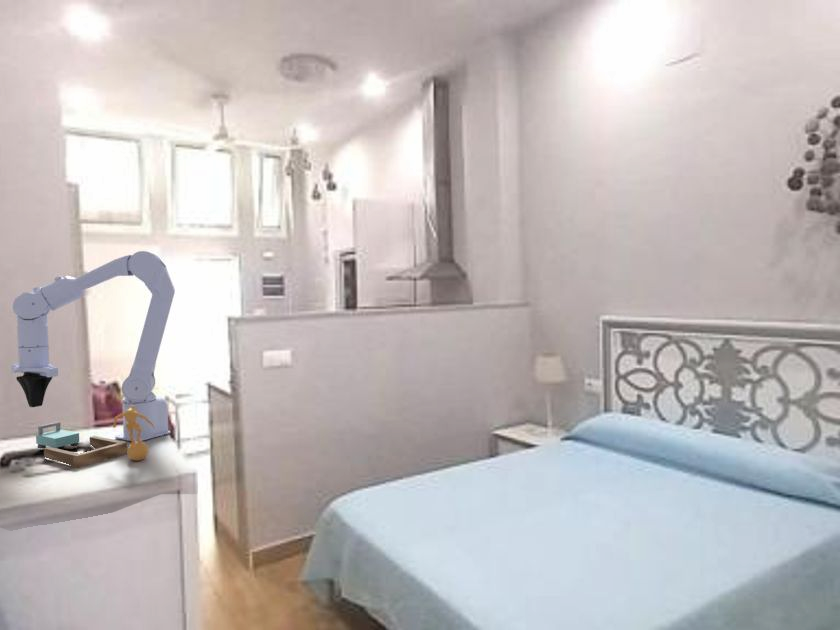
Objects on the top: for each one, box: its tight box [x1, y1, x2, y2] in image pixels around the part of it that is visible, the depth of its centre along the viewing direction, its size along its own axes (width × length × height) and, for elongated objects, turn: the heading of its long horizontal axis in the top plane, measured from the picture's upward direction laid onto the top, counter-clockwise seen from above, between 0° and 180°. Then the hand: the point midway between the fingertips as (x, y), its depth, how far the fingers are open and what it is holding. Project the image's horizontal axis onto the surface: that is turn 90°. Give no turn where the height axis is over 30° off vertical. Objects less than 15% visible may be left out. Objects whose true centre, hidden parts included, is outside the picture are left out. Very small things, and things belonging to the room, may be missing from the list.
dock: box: [43, 435, 128, 469], centre depth 122 cm, size 11×11×2 cm
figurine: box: [112, 405, 154, 462], centre depth 118 cm, size 8×6×12 cm
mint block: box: [35, 421, 80, 449], centre depth 127 cm, size 5×7×5 cm
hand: (35, 406), depth 130 cm, fingers closed
